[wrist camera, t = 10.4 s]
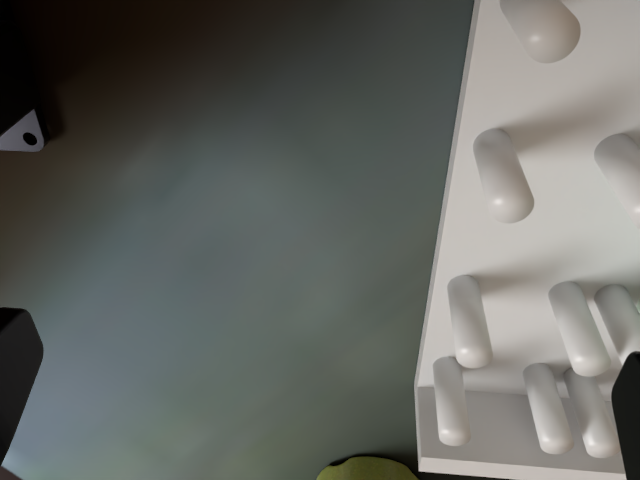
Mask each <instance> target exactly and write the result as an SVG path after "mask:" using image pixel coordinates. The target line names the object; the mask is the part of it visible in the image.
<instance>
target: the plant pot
mask: <svg viewBox="0 0 640 480" xmlns="http://www.w3.org/2000/svg"><path fill="white" fill-rule="evenodd" d="M317 480H419V479H418V478H417V477H416V476H415V475H414V474H413V473H412V472H411V471H410V470H409V468H408V467H407V466H405V465H403V464H401V463H398V462H396V461H393V460H389V459H384V458H377V457H353V458H350V459H348V460H347V461H346V462H344V463H342V464H340V465H338V466H330V465H329V466H327V467H326V468H324V469H323V470H322V471H321V473H320V474H319V476H318V477H317Z"/></svg>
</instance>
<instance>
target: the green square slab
mask: <svg viewBox="0 0 640 480" xmlns="http://www.w3.org/2000/svg"><path fill="white" fill-rule="evenodd" d="M636 308H637V310H638V312H639V314H640V299H639V301H638V304H637V306H636Z"/></svg>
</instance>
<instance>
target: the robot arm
mask: <svg viewBox="0 0 640 480" xmlns="http://www.w3.org/2000/svg"><path fill="white" fill-rule="evenodd" d="M40 100H41V99H40V95H39V92H38V89H37V85H36V82H35V79H34V75H33V72H32V69H31V65H30V62H29V59H28V55H27V52H26V49H25V45H24V42H23V39H22V35H21V32H20V29H19V28H18V27H17V25H16V24H15V21H14V18H13V15H12V11H11V8H10V5H9V1H8V0H0V150H11V151H31V152H35V151H40V150H41V149H42V148H43V147H44V146H45V145H46V144H47V143H48V141H49V133H48V130H47V127H46V123H45V120H44V117H43V114H42V110H41V107H40V104H39V102H40ZM28 132H29V133H32V134H33V135H34V136H35V137H36V138H37V140H34V139H33V138H31V137H30V135H29V134H28ZM42 359H43V344H42V341H41V339H40V336H39V334H38V332H37V329H36V327H35V324H34V322H33V319H32V317H31V315H30V313H29V312H28V311H27V310H25V309H21V308H6V307H2V308H0V466H1V464H2V462H3V460H4V458H5V455H6V453H7V451H8V449H9V447H10V444H11V442H12V439H13V437H14V434H15V432H16V429H17V426H18V424H19V421H20V418H21V416H22V413H23V410H24V408H25V405H26V402H27V400H28V397H29V394H30V392H31V389H32V386H33V384H34V381H35V378H36V376H37V373H38V370H39V368H40V365H41V362H42ZM611 402H612V408H613V413H614V418H615V423H616V429H617V434H618V439H619V444H620V449H621V454H622V459H623V464H624V469H625V474H626V480H640V351H633V352H631V353H630V354H629V355H628V356H627V358H626V360H625V362H624V364H623V366H622V368H621V370H620V372H619V374H618V377H617V379H616V381H615V383H614V385H613V388H612V392H611Z"/></svg>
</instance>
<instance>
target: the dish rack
mask: <svg viewBox="0 0 640 480" xmlns="http://www.w3.org/2000/svg"><path fill="white" fill-rule="evenodd" d="M639 299H640V0H475V2H474V8H473V14H472V21H471V27H470V33H469V40H468V46H467V52H466V59H465V65H464V71H463V78H462V84H461V90H460V97H459V103H458V109H457V116H456V122H455V128H454V135H453V141H452V147H451V154H450V160H449V166H448V173H447V179H446V185H445V192H444V198H443V204H442V211H441V217H440V223H439V230H438V236H437V242H436V249H435V255H434V261H433V268H432V274H431V280H430V287H429V293H428V299H427V305H426V312H425V318H424V324H423V331H422V337H421V343H420V350H419V356H418V362H417V369H416V375H415V381H414V391H415V410H416V429H417V448H418V467H419V471H421V472H433V473H445V474H456V475H468V476H480V477H492V478H503V479H515V480H626V474H625V469H624V464H623V459H622V454H621V449H620V444H619V439H618V434H617V429H616V423H615V418H614V413H613V408H612V402H611V392H612V388H613V385H614V383H615V381H616V379H617V377H618V374H619V372H620V370H621V368H622V366H623V364H624V362H625V360H626V358H627V356H628V355H629V354H630V353H631V352H633V351H640V314H639V312H638V310H637V308H636V306H637V304H638V301H639Z"/></svg>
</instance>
